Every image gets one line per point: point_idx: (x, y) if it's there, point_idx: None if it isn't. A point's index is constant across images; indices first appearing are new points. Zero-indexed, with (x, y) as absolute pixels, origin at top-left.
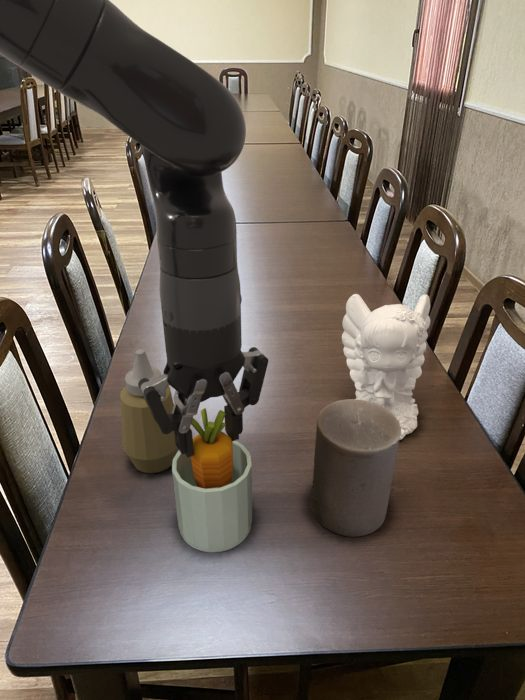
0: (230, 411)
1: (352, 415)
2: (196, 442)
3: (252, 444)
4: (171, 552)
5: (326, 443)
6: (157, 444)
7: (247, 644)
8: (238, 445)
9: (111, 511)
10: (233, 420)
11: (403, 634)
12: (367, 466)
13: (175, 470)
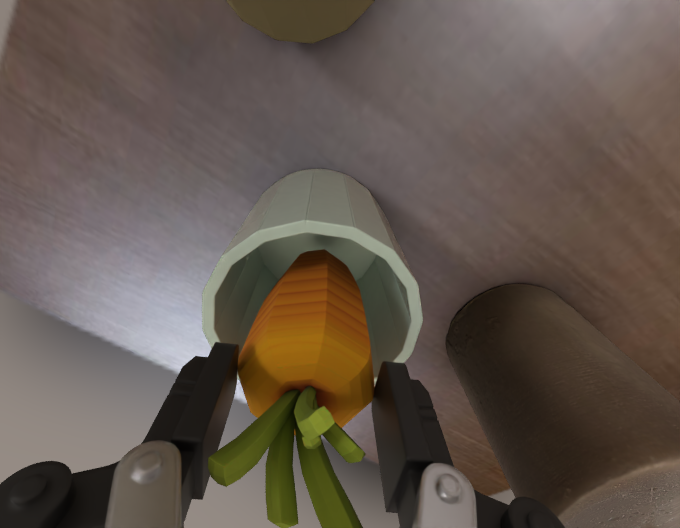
0: (402, 490)
1: (675, 512)
2: (258, 384)
3: (530, 96)
4: (221, 243)
5: None
6: (271, 25)
7: None
8: (412, 315)
9: (142, 71)
10: (385, 492)
11: None
12: None
13: (211, 297)
